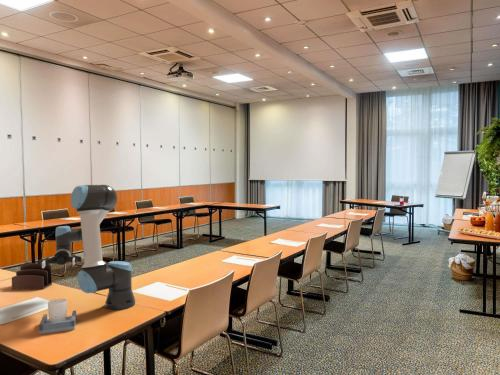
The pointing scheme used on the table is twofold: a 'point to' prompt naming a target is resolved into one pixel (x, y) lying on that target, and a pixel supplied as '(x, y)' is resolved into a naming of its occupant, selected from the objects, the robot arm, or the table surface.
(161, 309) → the table surface
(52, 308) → the white cup
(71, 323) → the dock
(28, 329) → the table surface
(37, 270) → the letter holder
